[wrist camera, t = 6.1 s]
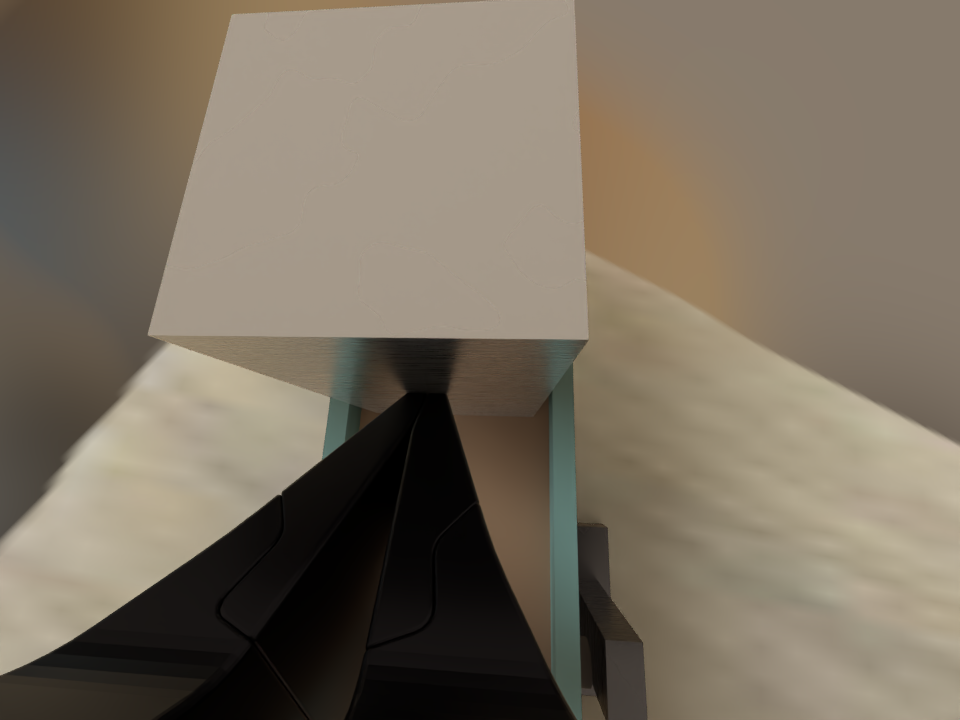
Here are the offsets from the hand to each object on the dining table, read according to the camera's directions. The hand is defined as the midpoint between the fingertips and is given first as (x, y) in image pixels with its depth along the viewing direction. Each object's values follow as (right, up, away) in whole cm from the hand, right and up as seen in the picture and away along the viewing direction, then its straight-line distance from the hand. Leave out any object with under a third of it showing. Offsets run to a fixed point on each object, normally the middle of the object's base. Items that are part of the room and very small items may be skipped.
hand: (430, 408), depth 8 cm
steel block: (0, +2, +4) cm, 5 cm away
